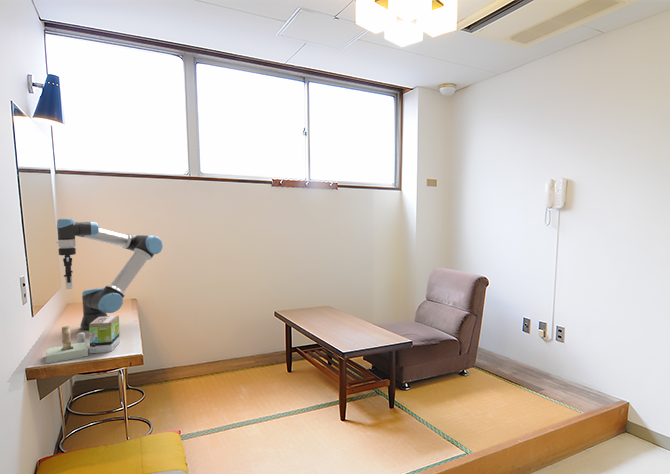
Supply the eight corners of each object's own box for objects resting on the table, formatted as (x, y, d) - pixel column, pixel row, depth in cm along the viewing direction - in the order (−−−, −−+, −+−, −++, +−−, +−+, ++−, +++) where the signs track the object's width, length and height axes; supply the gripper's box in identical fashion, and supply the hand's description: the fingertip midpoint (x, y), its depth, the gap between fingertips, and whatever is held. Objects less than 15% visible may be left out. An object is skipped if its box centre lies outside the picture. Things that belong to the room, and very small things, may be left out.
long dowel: (71, 354, 184) (69, 325, 183) (71, 356, 181) (69, 327, 181) (63, 355, 182) (61, 326, 182) (63, 357, 180) (61, 328, 179)
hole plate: (87, 348, 192) (86, 341, 191) (88, 355, 182) (87, 348, 182) (47, 355, 182) (46, 348, 182) (46, 363, 173) (45, 356, 172)
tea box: (112, 351, 187) (111, 322, 186) (89, 354, 184) (87, 324, 183) (120, 342, 201) (119, 314, 201) (98, 344, 199) (97, 316, 198)
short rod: (85, 345, 197) (85, 331, 196) (85, 347, 194) (84, 333, 193) (78, 346, 195) (77, 333, 194) (77, 348, 192) (76, 334, 192)
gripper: (58, 246, 212) (60, 284, 213) (58, 249, 192) (60, 291, 193) (75, 245, 216) (76, 282, 218) (76, 248, 196) (78, 289, 197)
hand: (69, 286), depth 205 cm, fingers open, 13 cm apart
